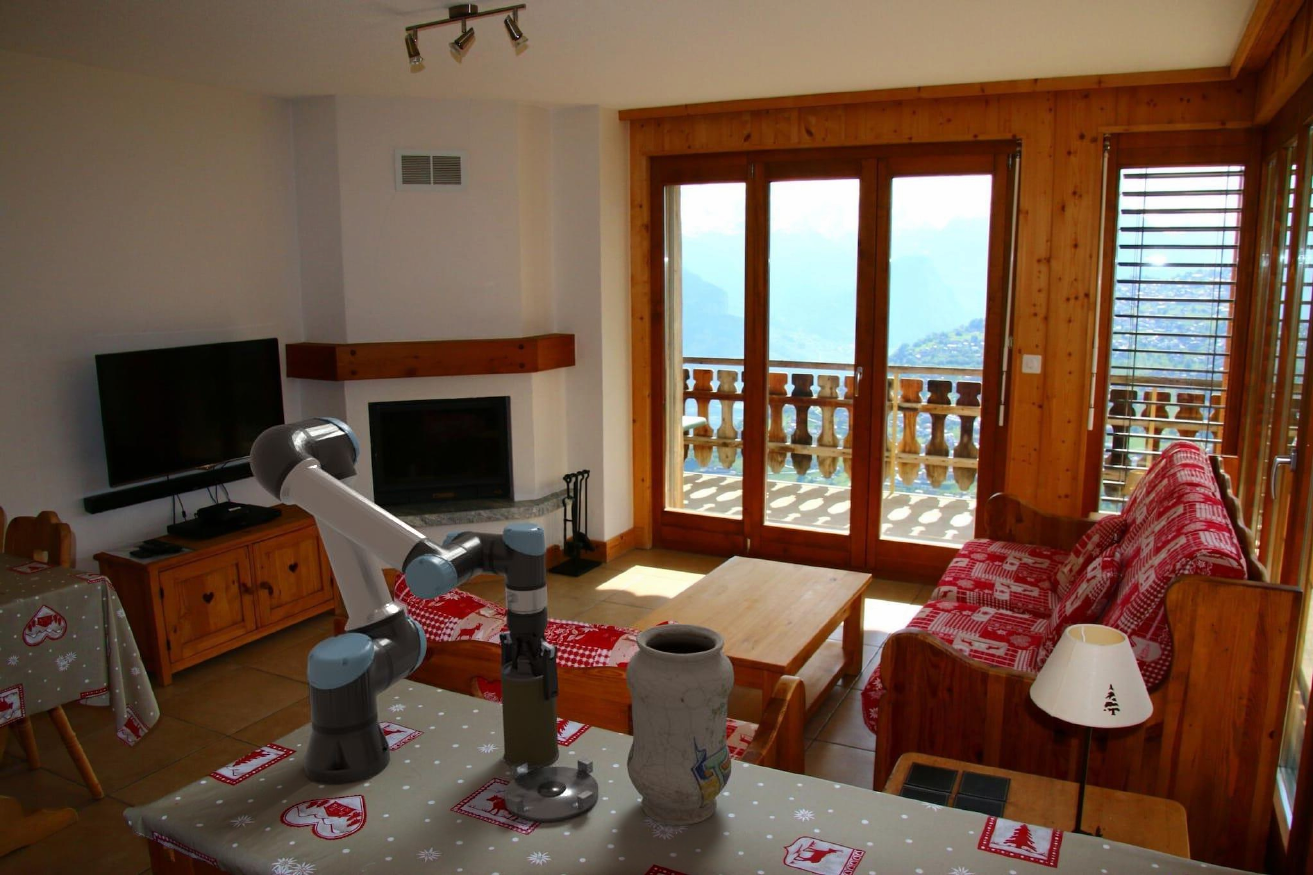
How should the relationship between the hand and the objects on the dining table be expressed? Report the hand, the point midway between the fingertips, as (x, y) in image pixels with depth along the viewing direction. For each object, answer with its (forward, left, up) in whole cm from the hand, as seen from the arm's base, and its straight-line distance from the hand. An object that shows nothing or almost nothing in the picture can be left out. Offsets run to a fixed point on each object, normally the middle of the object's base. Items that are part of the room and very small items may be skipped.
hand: (530, 726), depth 179 cm
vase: (+33, +4, -6) cm, 34 cm away
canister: (0, 0, -6) cm, 6 cm away
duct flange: (+14, -8, -6) cm, 17 cm away
